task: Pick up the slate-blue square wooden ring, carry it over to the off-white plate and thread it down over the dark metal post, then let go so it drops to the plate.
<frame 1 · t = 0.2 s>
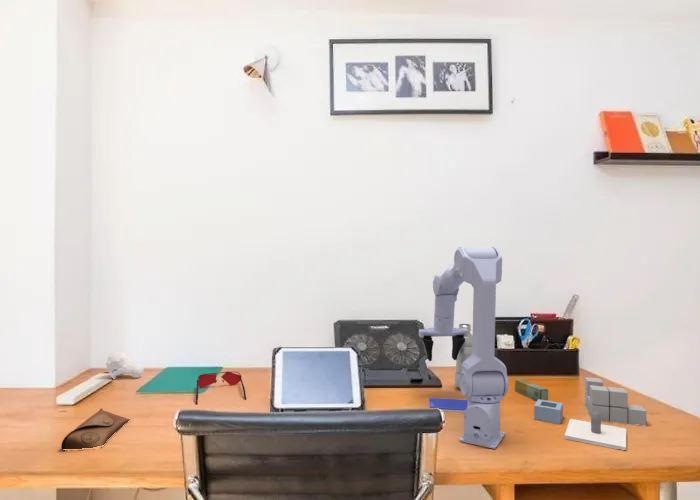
hand: (441, 359, 135), 10 cm above the table, tool pointing down, fingers open, 7 cm apart
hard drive: (451, 409, 124), on the table
white lumpy piece: (126, 378, 152), on the table
ring: (548, 418, 115), on the table
sunglasses case: (99, 436, 105), on the table
medication box: (530, 397, 133), on the table
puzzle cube: (613, 416, 118), on the table
post plate: (595, 435, 104), on the table
plastic bottle: (464, 389, 140), on the table
glasses: (220, 395, 135), on the table
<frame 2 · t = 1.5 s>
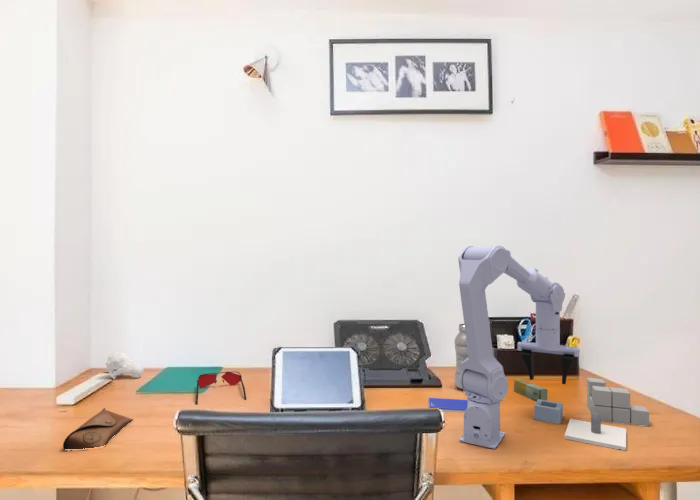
hand: (547, 381, 116), 9 cm above the table, tool pointing down, fingers open, 7 cm apart
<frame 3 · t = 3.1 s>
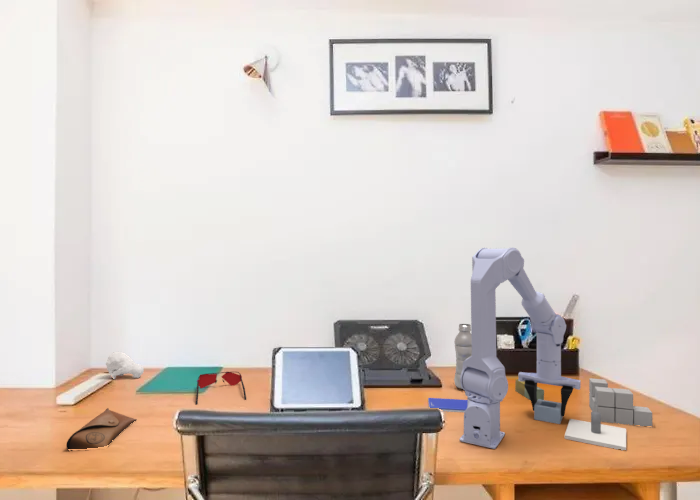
hand: (548, 412, 115), 1 cm above the table, tool pointing down, fingers closed on ring, 6 cm apart
ring: (548, 418, 115), on the table, touching gripper
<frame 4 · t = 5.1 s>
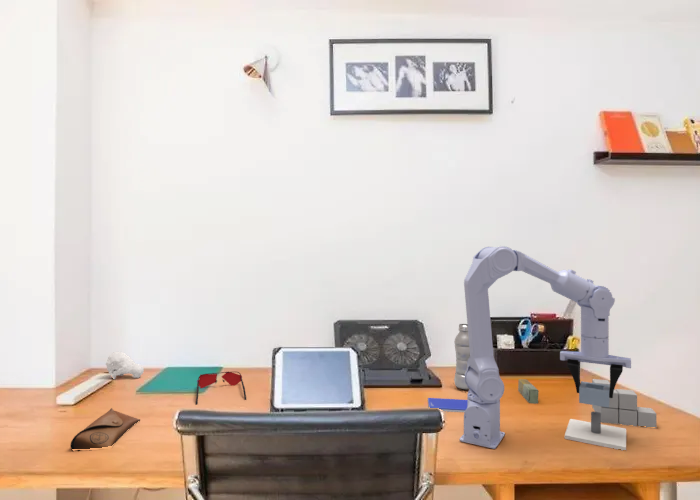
hand: (594, 394, 105), 9 cm above the table, tool pointing down, fingers closed on ring, 6 cm apart
ring: (594, 401, 105), point 8 cm above the table, touching gripper
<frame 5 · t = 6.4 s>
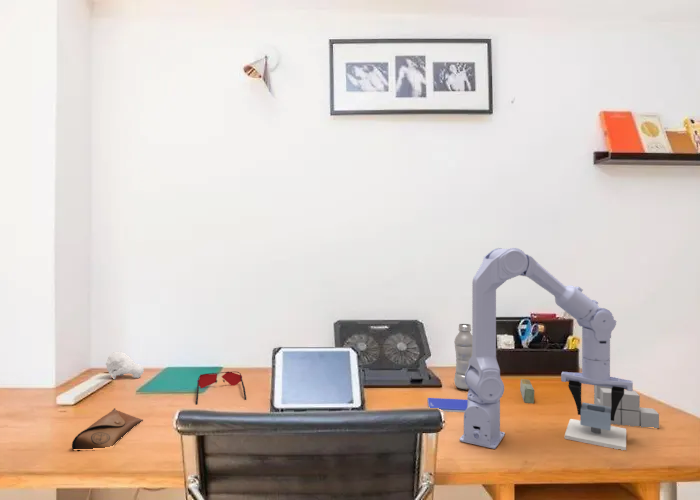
hand: (595, 416, 104), 4 cm above the table, tool pointing down, fingers closed on ring, 6 cm apart
ring: (595, 423, 105), point 3 cm above the table, touching gripper
when the fingers open (4 cm above the table, at t = 7.1 s): ring drops 2 cm, resting on post plate.
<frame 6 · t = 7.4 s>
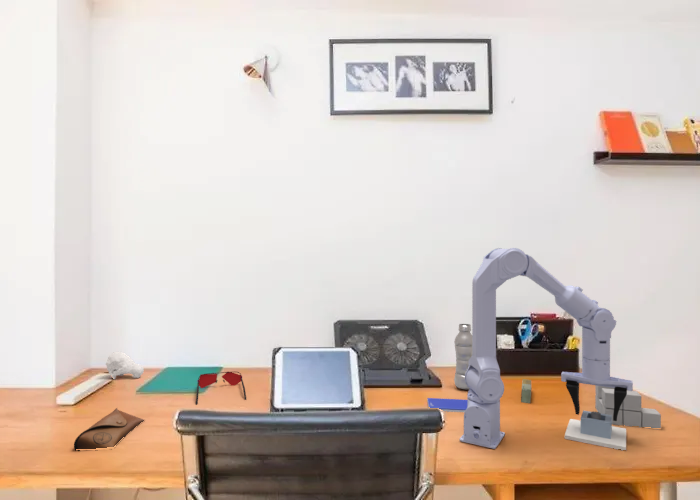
hand: (595, 416, 104), 4 cm above the table, tool pointing down, fingers open, 7 cm apart
ring: (596, 431, 105), point 1 cm above the table, touching post plate
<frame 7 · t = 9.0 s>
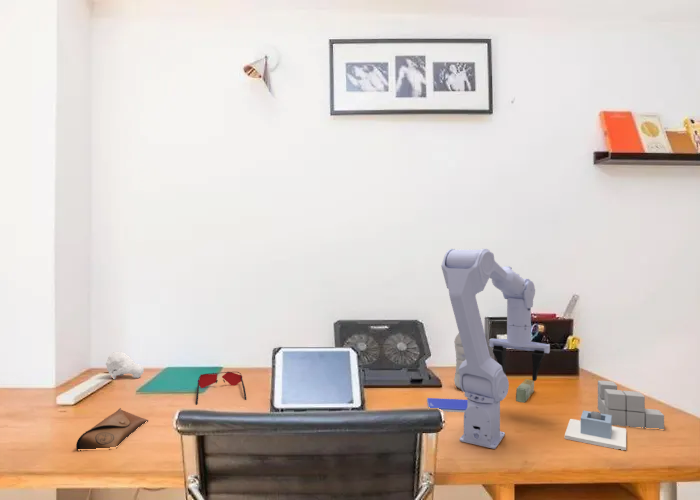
hand: (518, 377, 115), 10 cm above the table, tool pointing down, fingers open, 7 cm apart
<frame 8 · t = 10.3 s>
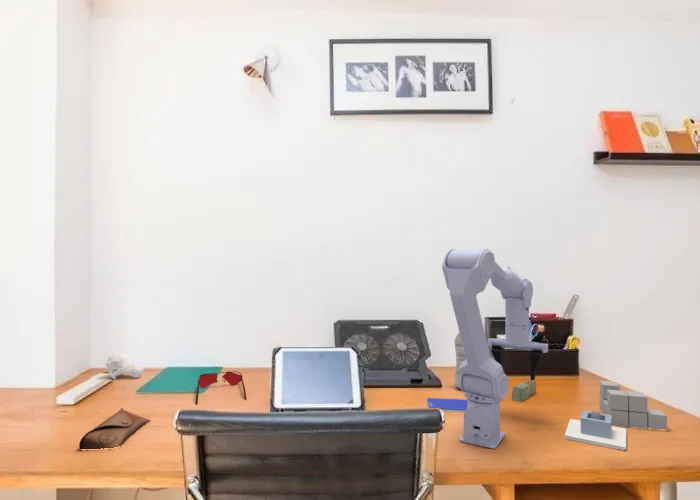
hand: (517, 377, 116), 10 cm above the table, tool pointing down, fingers open, 7 cm apart
at the end: ring 0.2 cm off-centre on the post plate, point 0.8 cm above the post plate's base; the gripper is holding nothing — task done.
